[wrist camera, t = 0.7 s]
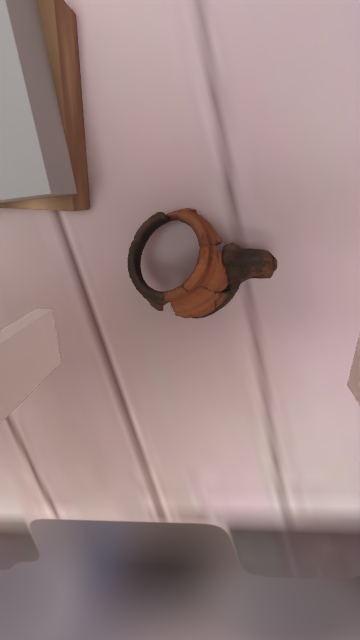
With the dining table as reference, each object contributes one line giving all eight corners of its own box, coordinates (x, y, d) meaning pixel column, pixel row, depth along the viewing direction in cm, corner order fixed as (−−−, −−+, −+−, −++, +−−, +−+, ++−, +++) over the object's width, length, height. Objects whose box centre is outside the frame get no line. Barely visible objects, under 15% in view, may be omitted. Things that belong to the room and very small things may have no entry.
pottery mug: (169, 324, 33) (120, 319, 26) (165, 236, 34) (116, 208, 26) (288, 314, 27) (269, 305, 20) (280, 210, 28) (259, 165, 21)
